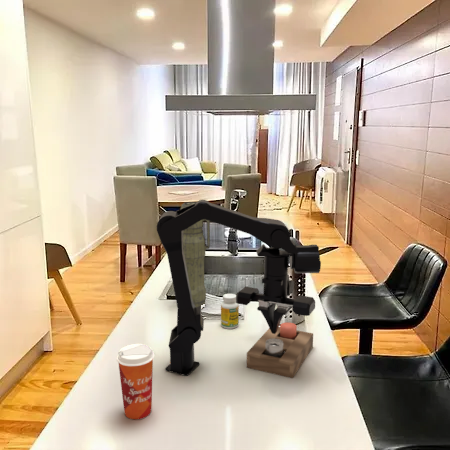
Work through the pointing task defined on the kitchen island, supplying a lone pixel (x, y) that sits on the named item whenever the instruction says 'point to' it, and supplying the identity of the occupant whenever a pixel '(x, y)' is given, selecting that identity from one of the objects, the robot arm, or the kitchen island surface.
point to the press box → (289, 360)
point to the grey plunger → (274, 348)
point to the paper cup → (136, 379)
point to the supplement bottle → (229, 312)
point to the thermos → (196, 257)
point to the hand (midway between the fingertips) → (274, 333)
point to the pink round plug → (288, 330)
